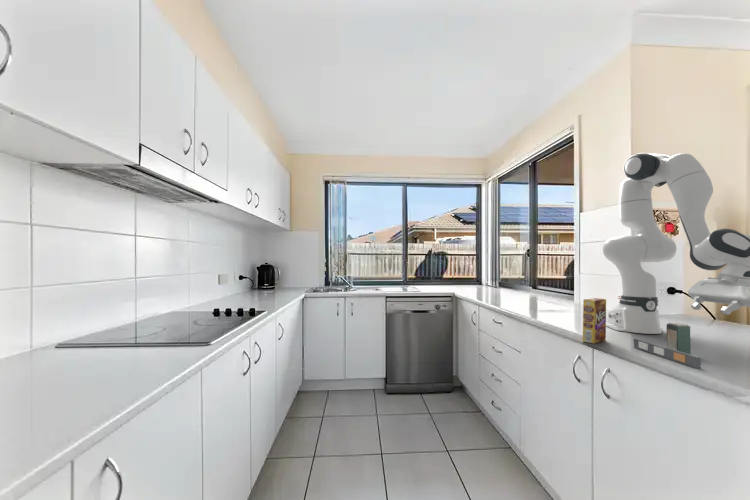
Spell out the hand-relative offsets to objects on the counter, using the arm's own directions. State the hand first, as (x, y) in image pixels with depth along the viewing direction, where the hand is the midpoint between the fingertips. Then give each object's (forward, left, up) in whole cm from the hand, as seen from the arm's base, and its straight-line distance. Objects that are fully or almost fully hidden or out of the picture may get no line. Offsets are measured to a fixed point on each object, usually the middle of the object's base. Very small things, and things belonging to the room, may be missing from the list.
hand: (708, 310), depth 111 cm
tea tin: (0, -10, -13) cm, 17 cm away
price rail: (+3, -17, -13) cm, 22 cm away
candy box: (-17, -25, -14) cm, 34 cm away
